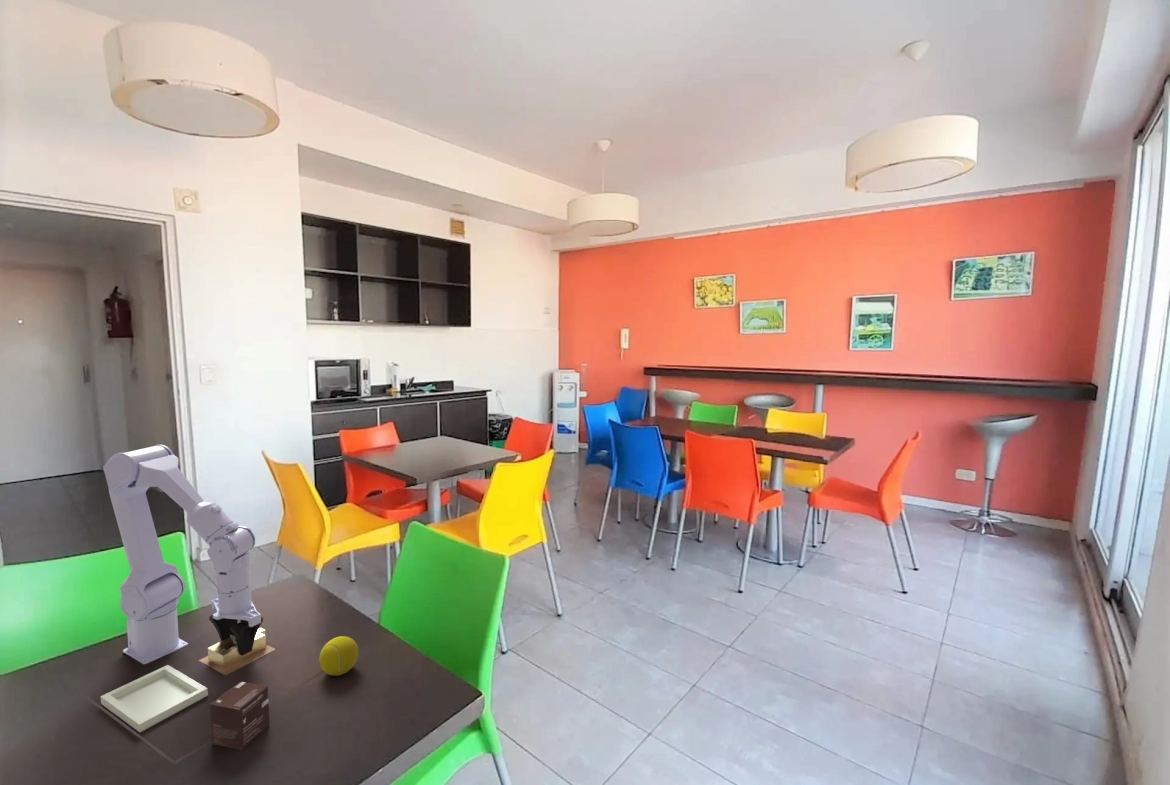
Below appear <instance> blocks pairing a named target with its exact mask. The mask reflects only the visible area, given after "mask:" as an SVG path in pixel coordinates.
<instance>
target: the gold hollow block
mask: <svg viewBox="0 0 1170 785" xmlns="http://www.w3.org/2000/svg"><path fill="white" fill-rule="evenodd" d="M266 643H267V638H266V629H264V628H262V627H259V629H258V631H257V633H256V636H255V640H254V644H253V648H252V651H250V652H248V653H247V654H245V655H240V653H239V651H238V646H237V645H236V646H234V647H233V640H231V639H230V638H228V639H225V640H223V641H221V640H220V641H219V642H217V643H215V644H212V645H211V646H209V647H207V656H208V660H209V662H210V663H212V664H214V665H216V666H218V667H220V668H221V669H223V670H225V669H226V668H228V667H230V666H232V665H234V664H236V663H238V662H240V661H242V660H244V659H246V658H248V657H250V656H252V655H254V654H255V653H257V652H259V651H261V650H263V649H265V648H266V645H267V644H266Z"/></svg>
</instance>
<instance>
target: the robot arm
mask: <svg viewBox="0 0 1170 785" xmlns="http://www.w3.org/2000/svg"><path fill="white" fill-rule="evenodd" d="M106 461H107V462H106V463H105V464H104V465H103V467H102V468H103V472H104V476H105V480H106V483H107V488H108V493H109V498H110V501H111V505H112V508H113V513H114V515H115V519H116V523H117V527H118V530H119V533H120V537H121V542H122V544H123V547H124V548H123V549H124V552H125V555H126V559H127V563H128V567H129V570H130V572H129V574H128V576H127V577H126V578H125V580H124V581H123V583H122V584H121V585H120V587H119V590H120V594H121V595H120V604H119V606H120V610H121V612H122V614H123V615H125V617H127V620H126V632H127V645H128V647H125V648H124V649H123V650H122V652H123V653H124V654H125V655H128V656H129V657H131V658H133V659H134V660H135V661H137V662H139V663H140V664H142V665H147V664H150V663H151V662H153V661H156V660H158V659H160V658H162V657H165V656H167V655H169V654H171V653H174V652H176V651H178V650H180V649H183V648H185V647H186V646H188V645H189V643H188V642H186V641H184V640H183V639H181V638H180V637H179V620H178V609H177V608H178V607H177V605H178V604H179V603H180V598H181V597H182V596H183V594H184V593H185V591H186V582H185V580H184V579H183V577H182V576H181V574H180V573H179V571H178V567H177V565H174V564H171V563H168V562H165V560H164V558H163V554H162V550H161V549H162V548H161V547H160V546H161V545H160V542H159V538H158V535H157V531H156V527H155V523H154V520H153V516H152V512H151V509H150V505H149V501H148V498H147V497H148V496H147V494H146V493H147V491H148V489H149V488H151V487H152V488H155V487H156V488H159V489H160V490H161V491H163V492H164V493H165V494H166V495H167V496H168V497H169V498H170V499H172V500H173V501H174V502H175V503H176V504H178V506H179V507H180V508H182V509H183V510H184V511H185V512H186V513H187V517H186V523H187V524H188V525H189V526H190V527H191V528H192V530H194V531H195V533H197V535H198V536H199V537H200V538H201V539H203V541H205V543H206V544H207V545H208V546H209V548H208V549H206V552H207V556H208V557H209V559H210V560H211V561H212V563H213V569H214V570H215V572H216V585H217V586H216V587H217V598H215V599H211V601H210V604H211V610H213V611H216V612H215V613H213V614H211V615H210V616H209V617H208V619H209V621H210V622H211V623H212V625H213V627H215V629H216V632H217V634H218V637H219V638H220V642H221V641H223V640H225V639H228V638H230V634H232V633H233V634H234V635H235V638H236V641H237V646H238V651H239V653H240V655H245V654H247V653H248V652H250V651H252V648H253V644H254V640H255V636H256V633H257V631H258V629H259V628H261V625H262V623H263V622H264V618H263V616H262V614H261V613H260V612H258V611H257V609H256V606H255V604H254V603H253V601H252V589H251V586H252V585H251V582H252V581H251V566H250V562H251V561H250V551H252V550H253V549H254V547H255V545H256V536H255V534H254V533H253V531H252V530H251V529H250V528H249V527H248V526H246V525H240V524H239V523H237V522H234V521H233V520H232V519H231V518H230V517H229V516H228V515H227V513H226V512H224V511H223V509H222V507H221V506H220V505H218V504H217V503H216V502H211V501H205V499H203V498H202V496H201V495H200V493H199V492H198V491H197V490H196V488H195V487H194V486H193V485H192V484H191V482H190V481H189V480H188V478H187V477H186V476H185V474H184V473H183V472H182V471H181V470H180V468H179V462H180V459H179V457H178V456H176V455H175V454H174V453H173V451H172V450H171V448H170V447H168V446H166V445H164V444H155V445H152V446H148V447H144V448H140V449H135V450H131V451H130V450H129V451H125V452H117V453H115V454H113V455H111V456H110V457H109V459H108V460H106ZM238 621H239V622H238Z"/></svg>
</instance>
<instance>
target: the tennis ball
mask: <svg viewBox="0 0 1170 785" xmlns="http://www.w3.org/2000/svg"><path fill="white" fill-rule="evenodd" d="M359 651H360V650H359V646H358V644H357V643H356V640H354V639H353V638H351V637H349V636H345V635H342V636H341V635H340V636H337V637H334V638H331V639H330V640H329V641H328V642H326V643H325V644H324V645H323V647H322V649H321V651H320V653H319V658H318V662H319V665H320V669H322V671H323V672H324V673H325V674H327V675H329V676H335V677H337V676H342V675H343V674H346V673H348V672H349V671H350V670H351V669H352V668H353V667H354V666H355V664H356V662H357V660H358V657H359Z"/></svg>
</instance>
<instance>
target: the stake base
mask: <svg viewBox="0 0 1170 785" xmlns="http://www.w3.org/2000/svg"><path fill="white" fill-rule="evenodd" d="M273 651H276V648H274V647H272V646H270V645H268V644H266V648H265V649H263V650H261V651H259V652H257V653H255V654H254V655H252V656H250V657H248V658H246V659H244V660H242V661H240V662H238V663H236V664H234V665H232V666H230V667H228V668H226V669H225V670H223V669H221V668H220V667H218V666H216V665H214V664H212V663H210V662H209V660H208V655H206V656H205V657H203V658H201V659H198V662H200V663H202V664H204V665H206V666H208V667H209V668H211V669H213V670H214V671H216V672H217V673H219V674H222V675H224V676H225V677H227V676H228V675H230V674H232V673H234V672H236V671H238V670H240V669H241V668H243V667H245V666H247V665H248V664H251V663H253V662H255V661H257V660H259V659H260V658H263V657H264V656H266V655H268V654H270V653H272V652H273Z"/></svg>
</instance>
